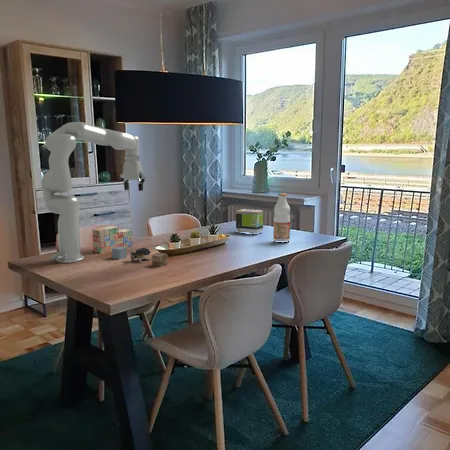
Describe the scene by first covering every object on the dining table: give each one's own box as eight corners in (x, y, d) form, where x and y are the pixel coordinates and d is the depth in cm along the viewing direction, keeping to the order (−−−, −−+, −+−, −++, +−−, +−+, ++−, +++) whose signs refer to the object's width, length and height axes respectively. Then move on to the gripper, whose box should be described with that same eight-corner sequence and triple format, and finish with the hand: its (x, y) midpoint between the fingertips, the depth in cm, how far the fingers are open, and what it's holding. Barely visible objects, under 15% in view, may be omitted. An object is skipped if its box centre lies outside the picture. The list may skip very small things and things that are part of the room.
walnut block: (160, 267, 203) (160, 256, 202) (152, 265, 205) (151, 255, 204) (167, 264, 207) (167, 254, 206) (159, 263, 209) (159, 252, 209)
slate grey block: (119, 259, 216) (119, 249, 215) (112, 258, 219) (111, 248, 218) (127, 257, 220) (126, 247, 220) (119, 256, 223) (119, 246, 222)
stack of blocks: (125, 245, 249) (124, 223, 247) (132, 246, 245) (131, 224, 243) (93, 252, 232) (92, 229, 230) (100, 253, 228) (99, 230, 226)
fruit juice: (270, 241, 259) (270, 193, 254) (283, 239, 263) (284, 192, 258) (279, 244, 250) (280, 194, 246) (292, 242, 255) (294, 194, 250)
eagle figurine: (134, 262, 207) (152, 256, 211) (129, 248, 208) (147, 243, 212) (132, 267, 213) (149, 261, 217) (126, 254, 215) (144, 248, 219)
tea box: (263, 232, 284) (263, 210, 281) (256, 235, 275) (256, 212, 273) (242, 230, 291) (242, 208, 289) (235, 233, 283) (235, 210, 280)
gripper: (115, 159, 243) (116, 190, 245) (141, 159, 235) (142, 191, 238) (124, 158, 249) (125, 189, 252) (149, 159, 242) (150, 190, 245)
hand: (133, 190), depth 245 cm, fingers open, 9 cm apart
